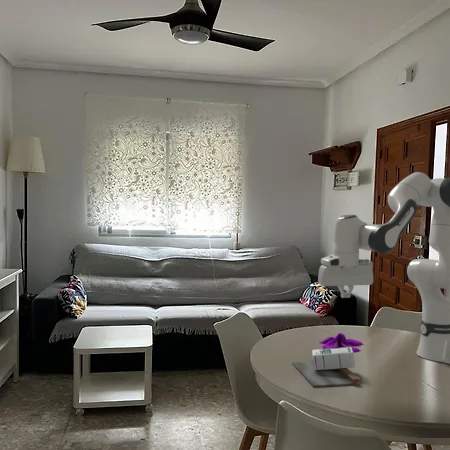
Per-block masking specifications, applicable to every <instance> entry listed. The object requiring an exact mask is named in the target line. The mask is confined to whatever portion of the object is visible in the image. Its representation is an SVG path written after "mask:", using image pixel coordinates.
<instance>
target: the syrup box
mask: <svg viewBox="0 0 450 450" xmlns="http://www.w3.org/2000/svg"><path fill="white" fill-rule="evenodd" d="M311 353H312V362H313V365H314V369H315V370H325V369H339V368H347V369H350V368H351V369H352V368H355V367H356V366H355V357H354V355H355V354H354V352H353V350H352V347H341V348H329V349H324V348H319V349H318V348H317V349H312V352H311Z"/></svg>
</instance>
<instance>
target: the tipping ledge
mask: <svg viewBox="0 0 450 450" xmlns="http://www.w3.org/2000/svg"><path fill="white" fill-rule="evenodd" d="M292 365H293V366H294V368H296V370H297V371H298V372H299V373H300V374H301V376H302V377H304V379H306V381H307V382H308V383H309V384H310V385H311V386H312V387H313V388H324V387H341V386H342V387H344V386H346V387H347V386H360V385H361V378H360V377H359V376H357V375H356V374H355V373H354V372H352V371H351V370H349V369H350V368H339V369H325V370H315V369H314V365H313V361H296V362H295V361H293V362H292Z"/></svg>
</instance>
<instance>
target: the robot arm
mask: <svg viewBox="0 0 450 450" xmlns="http://www.w3.org/2000/svg"><path fill="white" fill-rule="evenodd" d="M387 203H388V206H389V208H390V209H391V210H392V212H393V213H394V215H393V216H392V217H391V219H390V220H389V221H388V222H386V223H383V224H382V223H381V224H373V223H367V222H365V221H363V220H362V219H360V218H359V217H358V215H356V214H345V215H340V216H339V217H337V218H336V220H335V223H334V233H333V241H334V249H333V254H330V255H327V256H324V257H321V258H320V264H321V265H320V266H319V269H318V278H317V282H318V284H319V286H321V287H337V288H338V290H339V291H340V297H341V298H342V299H345V298H346V299H347V298H348V299H349V298H351V293H352V292H353V290H354V288H355V287H354V286H372V285H373V283H374V273H373V272H374V271H373V269H374V266H373V265H374V263H373V261H372V260H370V259H367V258H366V259H360V250H364V251H371V252H376V253H378V254H379V253H380V254H383V255H385V254H389V253H390V252H392V251H393V250H394V249H395V248H396V247H397V245H398V243H399V240H400V238H401V236H402V235H403V234H404V232H405V230H406V229H407V228H408V226H409V225H410V223H411V222H412V221H413V220H414V218H415V216H416V214H417V212H418V208H419V207H422V208H423V207H428V208H433V215H432V219H431V223H430V230H429V237H428V243H429V246H430V248H432V249H433V250H435V251H436V252H437V253H438V255H439V259H433V258H432V259H430V258H418V259H417V258H416V259H413V260H411V261H410V262H409V264H408V265H407V269H406V274H407V277H408V279H409V280H410V281H411V283H413V284H414V285H415V288H417V290H418V293H419V295H420V298H421V305H422V307H421V310H422V311H421V314H422V315H421V317H422V318H421V320H420V338H419V343H418V346H417V350H416V353H415V354H417V355H418V356H419V357H421V358H422V359H423V358H424V359H427V360H430V361H435V362H440V363H445V364H450V299H449V298H448V297H446V296H445V295H444V294H443V292H442V291H441V289H444V290H450V177H446V178H443V177H442V178H432V179H431V178H430V177H429V176H428V175H427V174H426V173H424V172H419V171H416V172H413V173H411V174H409V175H408V176H406V177H405V178H403V179H402V180H401V181H399V182H398V183H397V184H396V185H395V186H394V187H393V188H392V189H391V190H390V192H389V194H388V195H387ZM345 286H347V289H346V291H344V290H345Z"/></svg>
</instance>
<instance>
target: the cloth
mask: <svg viewBox="0 0 450 450" xmlns="http://www.w3.org/2000/svg"><path fill="white" fill-rule="evenodd" d="M318 344H321V345H322V349H329V348H342V347H352V350H353V353H356V352H358V353H359V352H361V351H362V350H361V349H359V348H358V347H359V346H364V343H363V342H362V341H360V340H356V339H352V338H346V335H345V334H344V333H342V332H339V333H338V334H337V335H336V336H335V337H334V336H329V337H326V338H325V339H324V340H321V341H319V342H318ZM355 346H358V347H355Z"/></svg>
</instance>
